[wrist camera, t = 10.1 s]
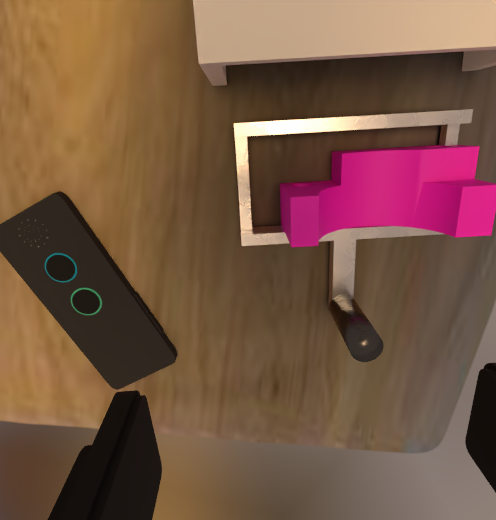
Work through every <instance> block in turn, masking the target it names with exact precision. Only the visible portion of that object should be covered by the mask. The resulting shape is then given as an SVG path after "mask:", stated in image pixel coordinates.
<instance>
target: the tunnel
mask: <svg viewBox="0 0 496 520" xmlns="http://www.w3.org/2000/svg"><path fill="white" fill-rule="evenodd" d="M193 6H194V17H195V28H196V39H197V50H198V61H199V65H200V67H201V68H202V70H203V72H204V73H205V75H206V76H207V78H208V80H209V81H210V83H211V84H212V86H222V85H227V78H226V65H240V64H257V63H274V62H291V61H308V60H325V59H342V58H359V57H376V56H393V55H409V54H426V53H443V52H460V51H464V55H463V63H462V71H475V70H480V69H484V68H488V67H492V66H495V65H496V0H193Z"/></svg>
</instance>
